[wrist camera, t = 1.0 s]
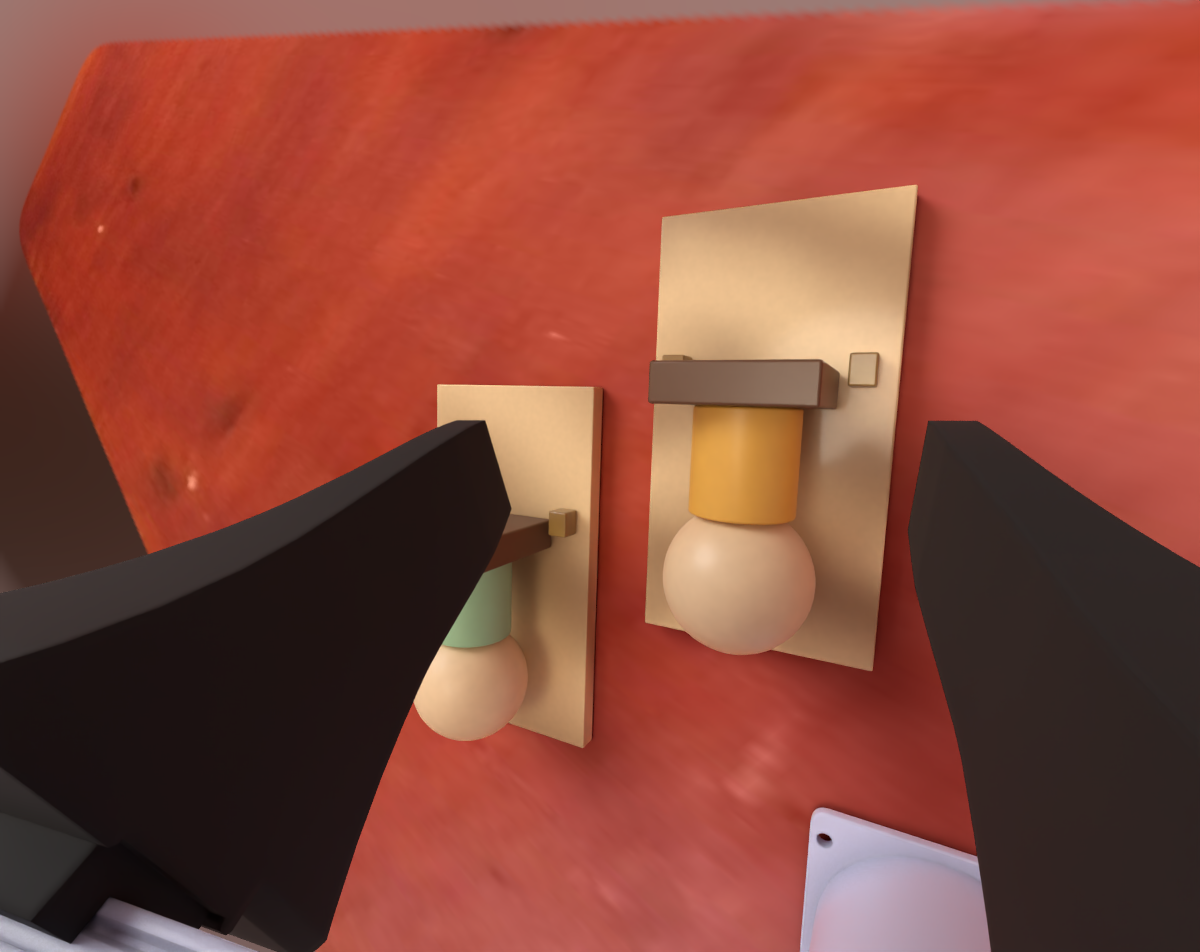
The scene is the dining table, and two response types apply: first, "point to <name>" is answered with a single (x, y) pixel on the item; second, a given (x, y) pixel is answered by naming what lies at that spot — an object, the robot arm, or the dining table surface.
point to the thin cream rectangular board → (569, 567)
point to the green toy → (483, 648)
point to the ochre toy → (742, 498)
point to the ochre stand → (796, 331)
